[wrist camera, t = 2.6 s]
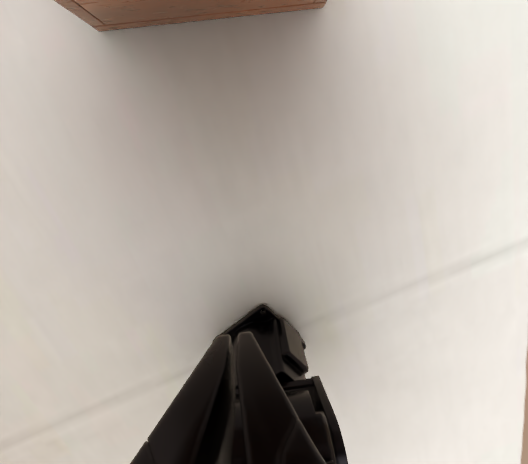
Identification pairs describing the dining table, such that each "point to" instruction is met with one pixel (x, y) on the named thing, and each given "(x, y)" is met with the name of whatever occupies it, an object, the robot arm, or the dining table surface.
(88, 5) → the bin
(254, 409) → the robot arm
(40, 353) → the dining table surface
